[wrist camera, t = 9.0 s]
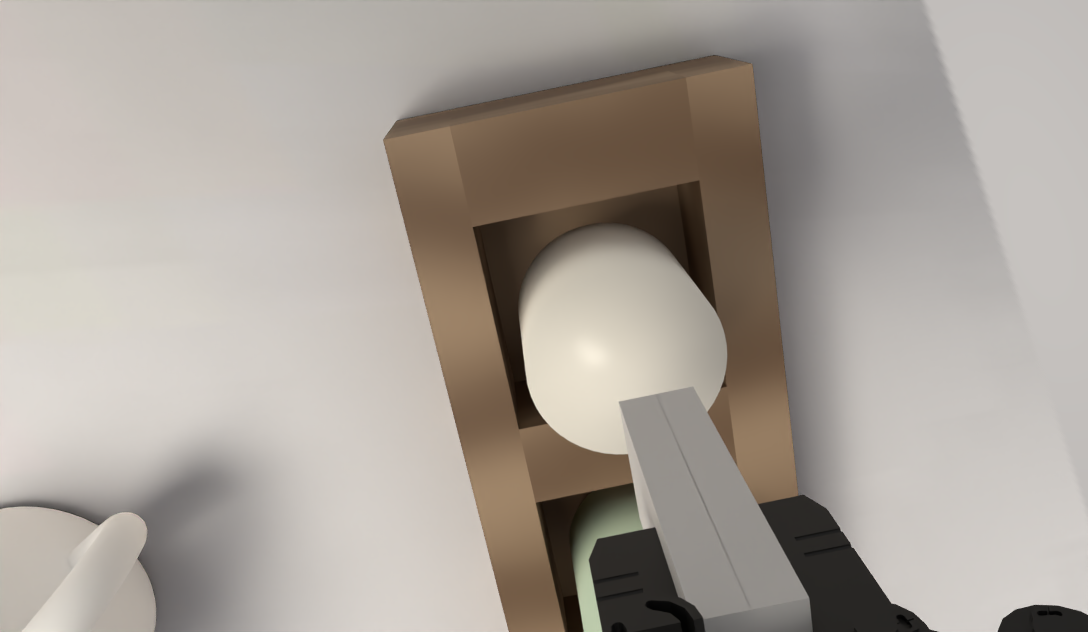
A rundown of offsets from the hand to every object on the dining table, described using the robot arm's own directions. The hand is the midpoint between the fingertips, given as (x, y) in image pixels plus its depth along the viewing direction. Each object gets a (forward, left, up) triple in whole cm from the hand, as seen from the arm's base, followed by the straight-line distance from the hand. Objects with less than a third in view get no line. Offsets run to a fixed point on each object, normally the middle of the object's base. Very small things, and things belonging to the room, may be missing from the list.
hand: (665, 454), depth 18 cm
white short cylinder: (0, 0, -9) cm, 9 cm away
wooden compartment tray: (+9, 0, -12) cm, 15 cm away
